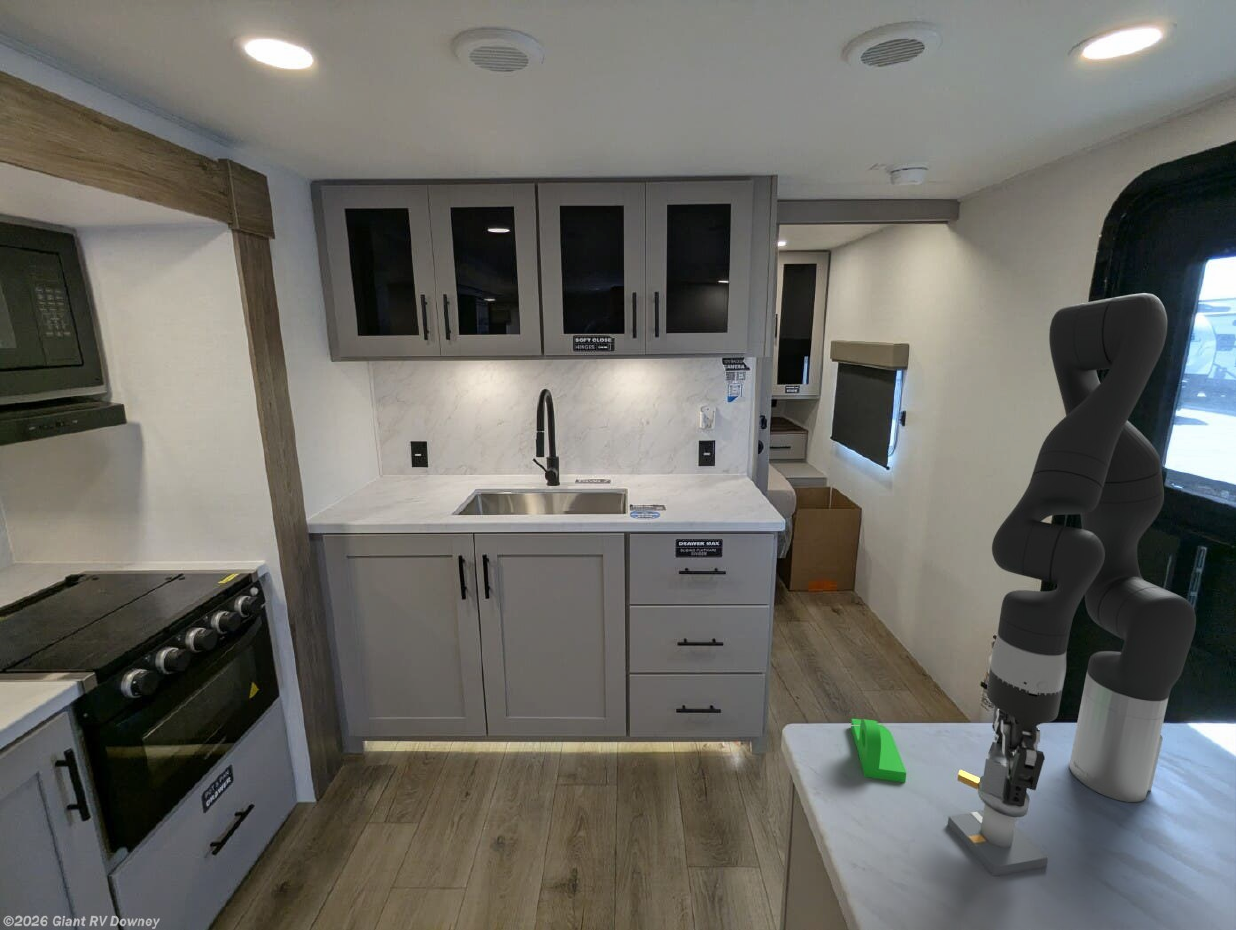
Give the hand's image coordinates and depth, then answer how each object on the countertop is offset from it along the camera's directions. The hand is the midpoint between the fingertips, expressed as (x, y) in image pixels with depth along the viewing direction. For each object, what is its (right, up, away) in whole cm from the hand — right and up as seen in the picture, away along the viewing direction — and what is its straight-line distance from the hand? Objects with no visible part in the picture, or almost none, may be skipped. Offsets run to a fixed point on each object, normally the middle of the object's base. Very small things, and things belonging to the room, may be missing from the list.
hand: (1007, 785), depth 73 cm
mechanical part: (-8, -6, +20) cm, 22 cm away
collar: (-1, -2, +2) cm, 3 cm away
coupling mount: (0, -10, +2) cm, 10 cm away
